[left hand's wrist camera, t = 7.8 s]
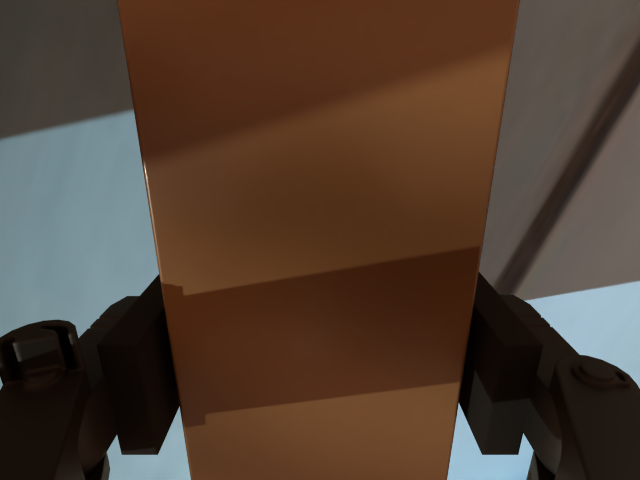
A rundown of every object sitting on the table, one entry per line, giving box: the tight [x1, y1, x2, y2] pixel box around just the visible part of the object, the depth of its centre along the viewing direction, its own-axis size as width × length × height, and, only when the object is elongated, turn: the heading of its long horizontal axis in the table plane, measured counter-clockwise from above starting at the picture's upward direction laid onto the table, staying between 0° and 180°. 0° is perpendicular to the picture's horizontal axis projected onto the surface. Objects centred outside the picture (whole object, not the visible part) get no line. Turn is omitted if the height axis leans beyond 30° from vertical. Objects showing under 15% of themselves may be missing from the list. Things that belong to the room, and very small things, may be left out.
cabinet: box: [117, 0, 520, 480], centre depth 12 cm, size 18×6×10 cm, turn 0°
